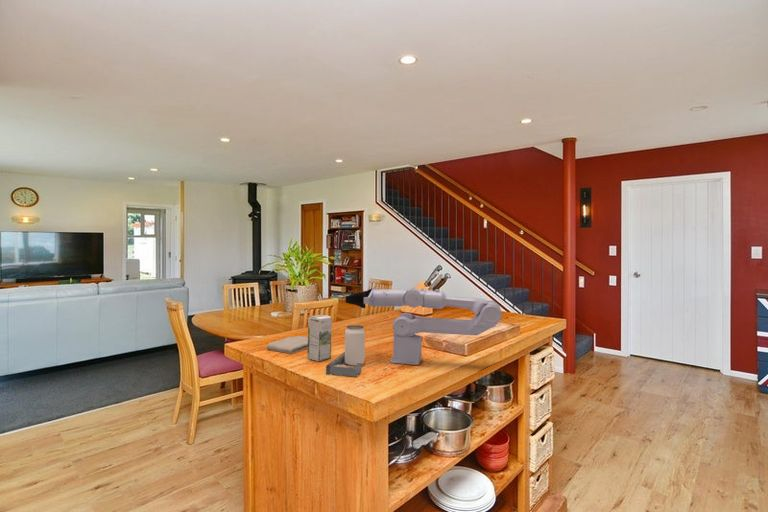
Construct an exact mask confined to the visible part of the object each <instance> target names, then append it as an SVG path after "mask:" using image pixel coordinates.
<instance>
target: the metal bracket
mask: <svg viewBox="0 0 768 512" xmlns="http://www.w3.org/2000/svg"><path fill="white" fill-rule="evenodd" d="M343 364H344V365H343ZM362 367H363V364H362V363H357V364H356V365H355V366H349V365H347V364H346V365H345V351H344V352H343V353H341V354H340V355H339V356H337V357H336V358H334V359H333V360H331V361H330V362H329V363H328V364H327V365H326V366H325V375H330V374H334V375H333V376H340V375H342V377H350V376H352V378H357V377H358V376H359V375H360V374H361V373H362ZM357 375H358V376H357ZM356 376H357V377H356Z"/></svg>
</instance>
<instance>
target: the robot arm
mask: <svg viewBox="0 0 768 512" xmlns="http://www.w3.org/2000/svg"><path fill="white" fill-rule="evenodd" d="M344 300H345V303H346V304H349V305H353V306H357V307H360V308H361V309H366V305H369V306H371V307H372V308H376V307H402V306H403V307H404V306H406V307H407V306H408V307H410V308H414V309H416V308H418V307H421V308H427V309H436V310H442V309H444V307H452V308H459V309H465V310H466V309H467V310H470V311H472V312H473V313H474V314H475V315H474V316H473V317H472V318H471V319H461V318H460V319H459V318H443V317H442V318H441V317H440V318H439V317H424V316H420V315H414V314H413V313H410V312H403V313H401V314H400V315H399V316H398V317H395V319H394V321H393V322H392V330H393V331H394V332H393V342H392V343H393V348H392V349H393V350H392V353H393V354H392V357H391V359H390V361H389V363H391V364H403V365H413V366H414V365H415V366H418V365H419V364H420V362H421V361H422V345H423V343H422V336H421V335H417V334H420V333H425V334H426V333H429V334H430V333H431V334H441V335H442V334H445V335H446V334H448V335H462V336H463V335H464V336H479V335H481V334H482V333H484V332H486V331H488V330H490V329H492V328H495V327H496V326H497V325H498V324H499V322H500V321H501V320H502V317H503V311H502V310H501V307H500V304H498V302H496V301H495V300H487V299H485V298H484V299H483V298H478V297H466V296H465V297H464V296H452V295H451V296H450V295H449V296H448V295H446V294H445V293H444V292H443V291H440V289H438V288H437V289H435V290H427V289H425V288H422V287H421V288H420V289H418V288H416V287H413V288H410V289H406V288H405V289H400V288H398V289H397V288H395V289H394V288H393V289H389V288H388V289H376V285H375V286H374V285H372V287H371V288H370V289H368V290H364V291H361V292H355V293H352V294H350V295H346V296H345V299H344Z"/></svg>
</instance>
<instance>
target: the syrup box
mask: <svg viewBox="0 0 768 512" xmlns="http://www.w3.org/2000/svg"><path fill="white" fill-rule="evenodd" d="M332 320H333V317H332V316H329V315H326V314H317V315H312V316H308V321H307V323H308V325H307V327H308V328H307V330H308V331H307V337H308V349H307V354H306V355H307V356H306V357H307V358H306V359H308V360H311V359H312V360H311V361H314V360H316V361H315V362H318V361H319V362H322V361H326V360H328V359H331V357H332V356H331V355H332V331H333V330H332V328H333V326H332V325H333V324H332V323H333V321H332Z"/></svg>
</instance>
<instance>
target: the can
mask: <svg viewBox="0 0 768 512" xmlns="http://www.w3.org/2000/svg"><path fill="white" fill-rule="evenodd" d="M364 328H365V327H364V325H358V324H357V325H356V324H355V325H354V324H353V325H351V324H350V325H347V326H346V329H345V331H344V332H345V333H344V352H345V362H344V364H346V365H347V366H349V367H354V366H355V365H356V364H357V363H362V365H364V364H365V349H366V347H365V346H366V345H365V344H366V331H365V329H364Z"/></svg>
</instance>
